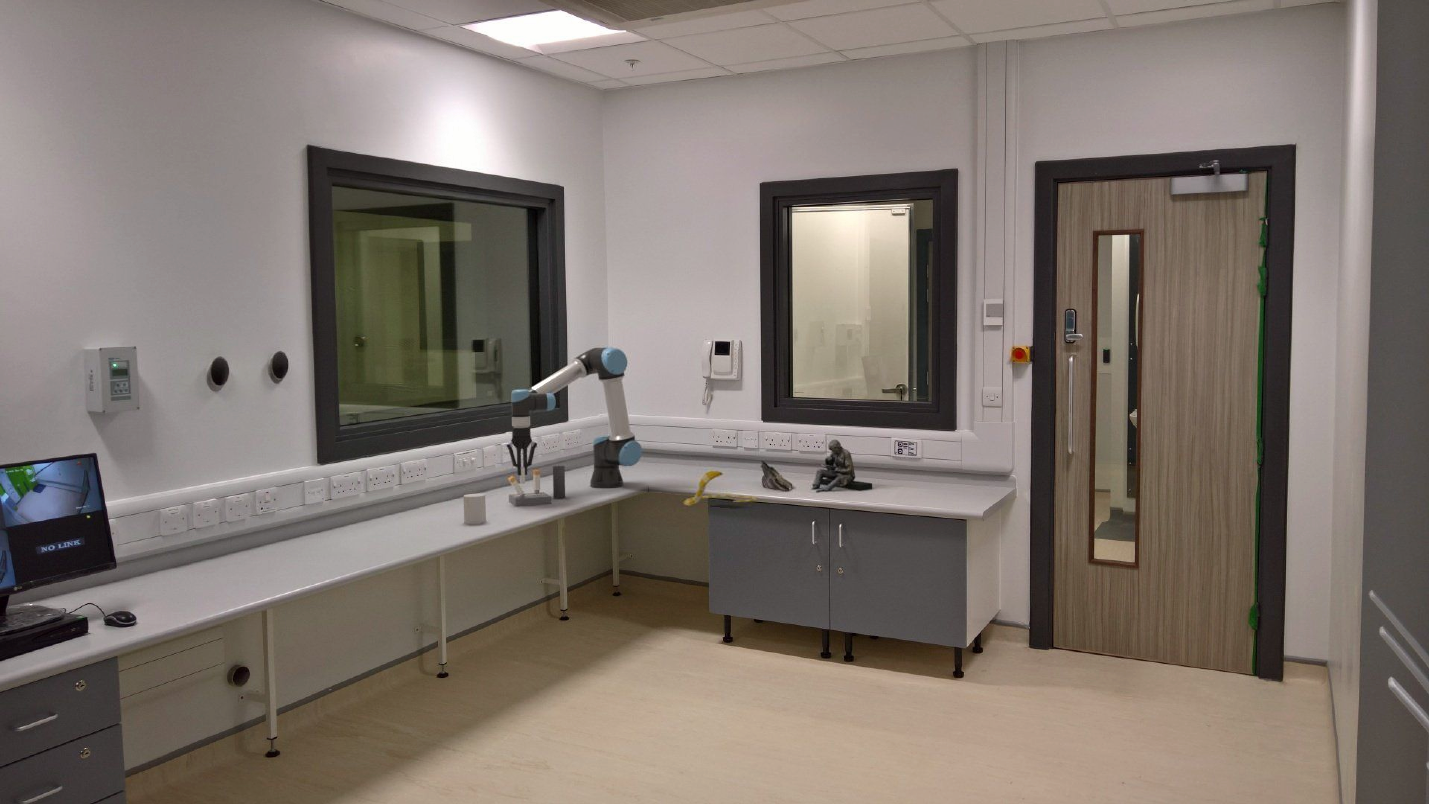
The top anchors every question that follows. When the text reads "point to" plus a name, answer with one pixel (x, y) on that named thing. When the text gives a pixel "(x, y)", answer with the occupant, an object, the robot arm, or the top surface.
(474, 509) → the light grey upright cylinder
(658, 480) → the top surface
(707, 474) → the toy
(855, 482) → the figurine
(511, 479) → the paddle
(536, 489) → the paddle
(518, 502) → the grey tube rack
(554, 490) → the post
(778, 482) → the brown ridged tapered piece
